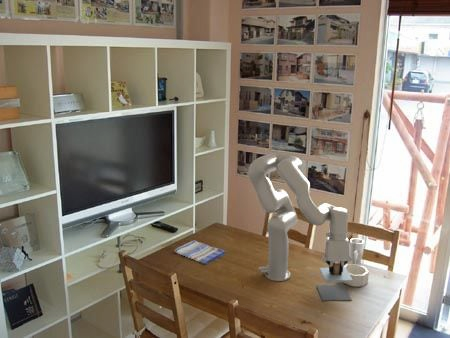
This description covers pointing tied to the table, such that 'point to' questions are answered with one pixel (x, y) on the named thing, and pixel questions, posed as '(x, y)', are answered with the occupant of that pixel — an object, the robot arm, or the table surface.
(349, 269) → the bowl
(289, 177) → the robot arm
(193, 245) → the dish towel
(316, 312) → the table surface
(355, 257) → the beer glass
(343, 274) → the cover
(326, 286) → the mat
